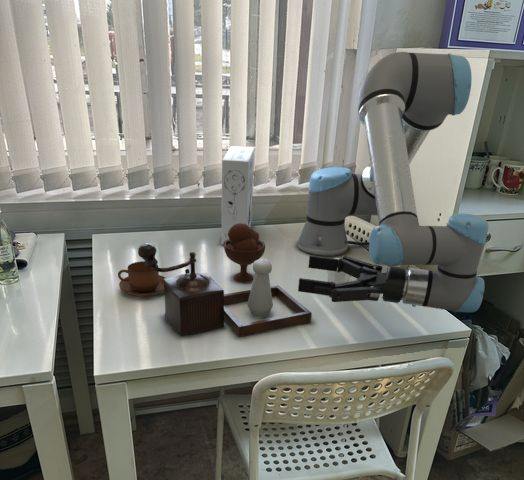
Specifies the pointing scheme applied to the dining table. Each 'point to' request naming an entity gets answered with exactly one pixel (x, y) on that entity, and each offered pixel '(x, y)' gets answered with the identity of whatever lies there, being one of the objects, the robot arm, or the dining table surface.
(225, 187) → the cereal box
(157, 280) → the cup and saucer
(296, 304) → the tray
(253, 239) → the ice cream bowl
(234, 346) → the dining table surface
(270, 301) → the salt shaker
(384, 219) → the robot arm
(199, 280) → the manual coffee grinder
